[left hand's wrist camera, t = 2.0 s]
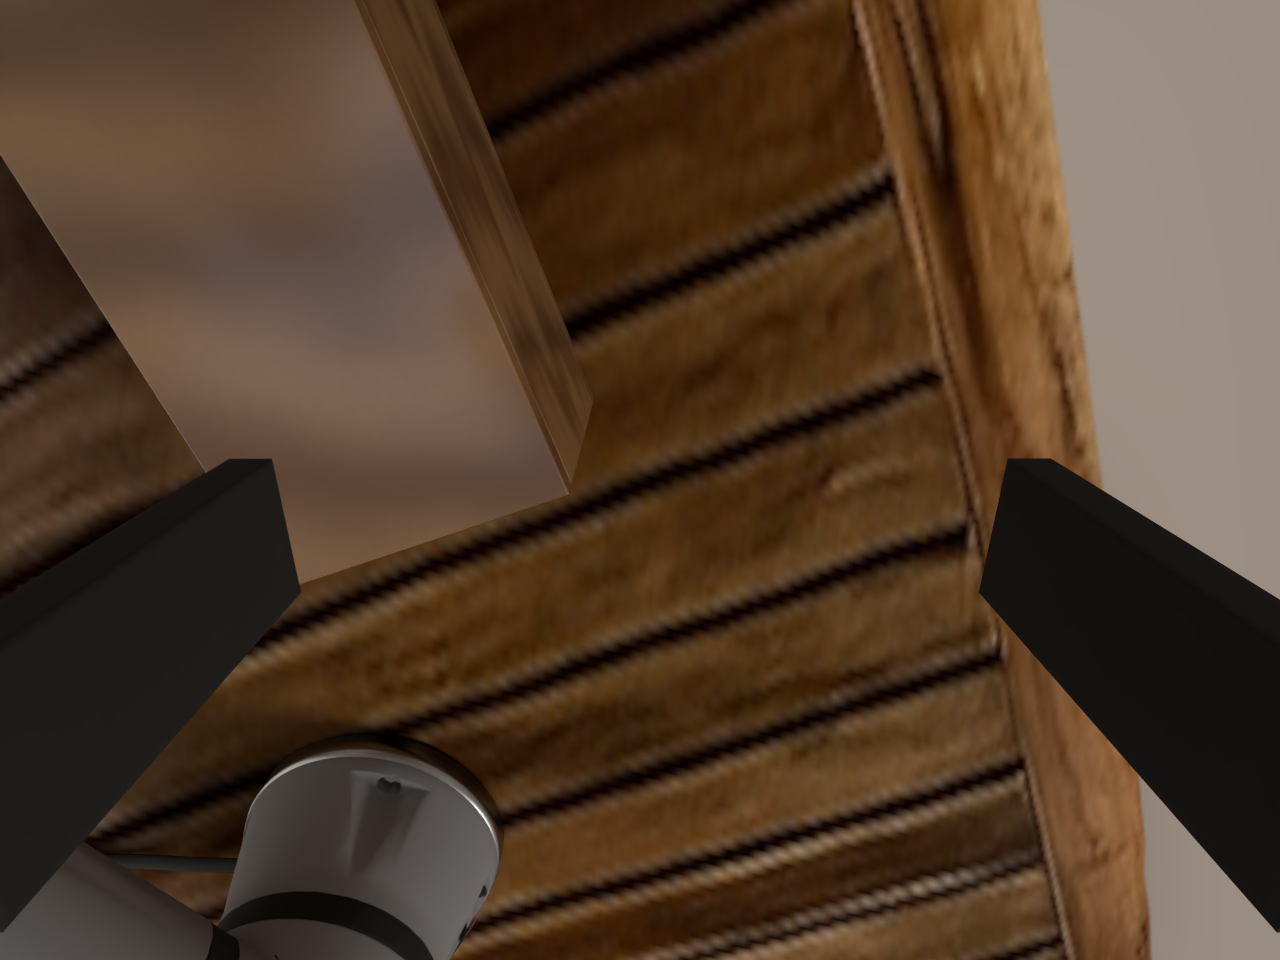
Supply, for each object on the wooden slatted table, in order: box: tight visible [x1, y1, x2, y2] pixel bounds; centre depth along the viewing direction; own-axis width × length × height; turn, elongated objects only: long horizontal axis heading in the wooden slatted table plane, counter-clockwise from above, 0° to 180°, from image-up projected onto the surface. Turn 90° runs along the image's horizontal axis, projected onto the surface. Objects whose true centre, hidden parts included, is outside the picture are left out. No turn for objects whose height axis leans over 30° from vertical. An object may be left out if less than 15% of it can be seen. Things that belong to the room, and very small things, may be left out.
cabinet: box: [0, 0, 594, 585], centre depth 24 cm, size 21×11×12 cm, turn 20°
